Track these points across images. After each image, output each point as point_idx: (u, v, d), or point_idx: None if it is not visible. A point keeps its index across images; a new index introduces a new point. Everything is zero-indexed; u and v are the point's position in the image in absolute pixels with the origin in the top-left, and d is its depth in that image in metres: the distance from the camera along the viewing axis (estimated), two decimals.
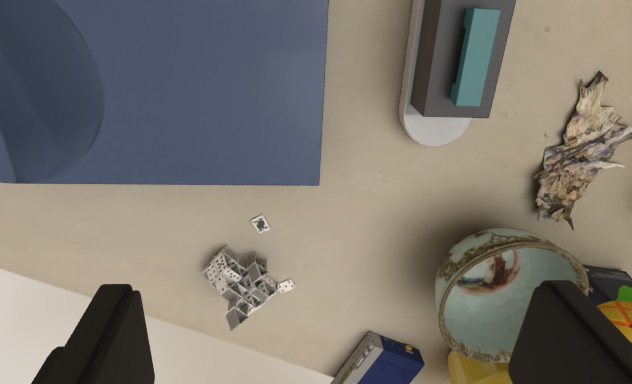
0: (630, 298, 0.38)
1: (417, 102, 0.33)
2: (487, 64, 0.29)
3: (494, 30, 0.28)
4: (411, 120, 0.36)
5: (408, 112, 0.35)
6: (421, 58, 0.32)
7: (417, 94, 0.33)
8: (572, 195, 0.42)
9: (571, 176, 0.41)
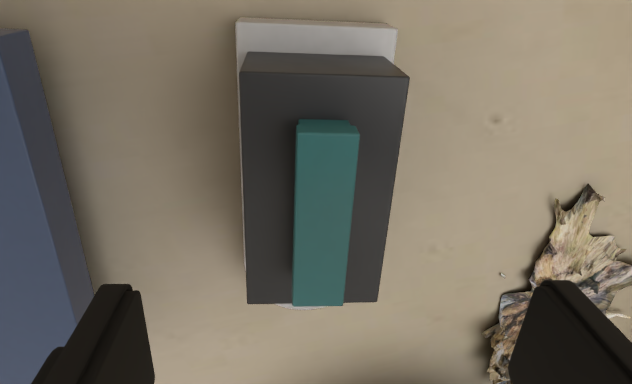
0: None
1: None
2: (346, 236, 0.14)
3: (351, 175, 0.13)
4: None
5: None
6: None
7: None
8: None
9: None
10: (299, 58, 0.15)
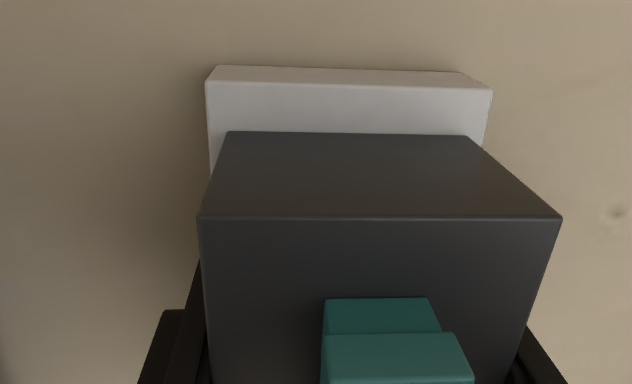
0: None
1: None
2: None
3: None
4: None
5: None
6: None
7: None
8: None
9: None
10: (321, 150, 0.08)
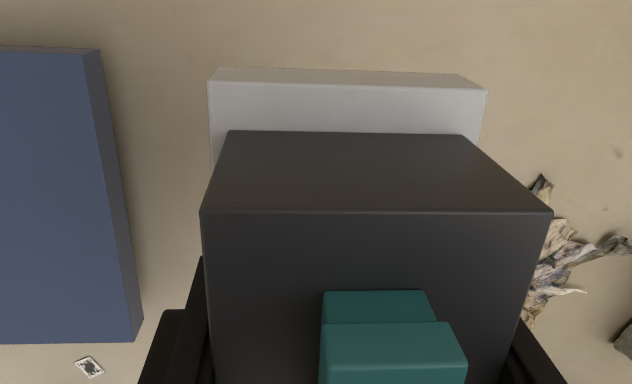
0: None
1: None
2: None
3: None
4: None
5: None
6: None
7: None
8: None
9: None
10: (320, 148, 0.08)
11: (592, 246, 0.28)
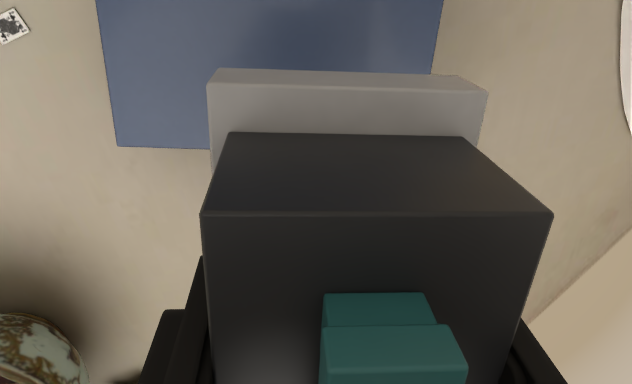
0: None
1: None
2: None
3: None
4: None
5: None
6: None
7: None
8: None
9: None
10: (320, 151, 0.08)
11: None
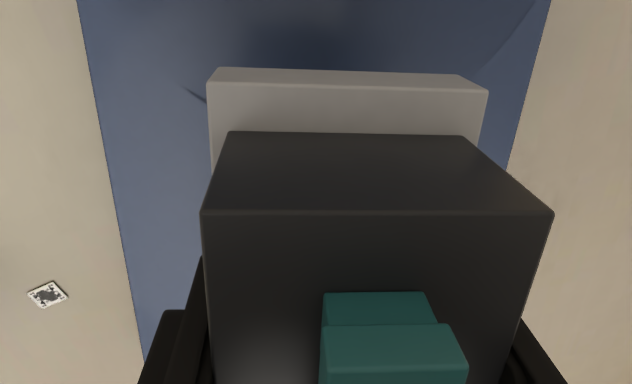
0: None
1: None
2: None
3: None
4: None
5: None
6: None
7: None
8: None
9: None
10: (320, 149, 0.08)
11: None
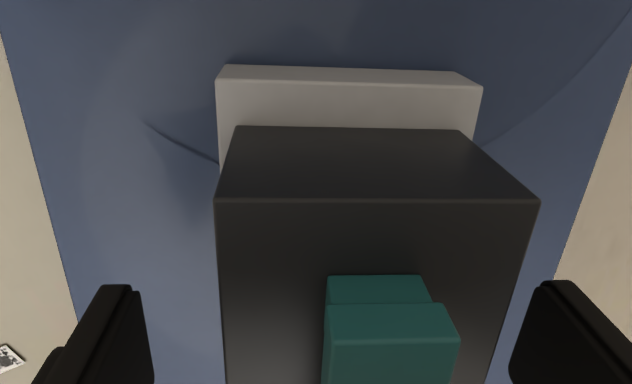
0: None
1: None
2: None
3: None
4: None
5: None
6: None
7: None
8: None
9: None
10: (323, 143, 0.09)
11: None
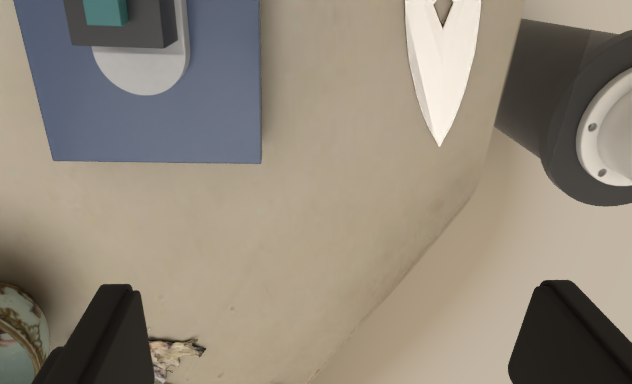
0: None
1: None
2: None
3: None
4: (105, 60, 0.28)
5: (97, 49, 0.28)
6: None
7: None
8: None
9: None
10: None
11: (163, 381, 0.49)
